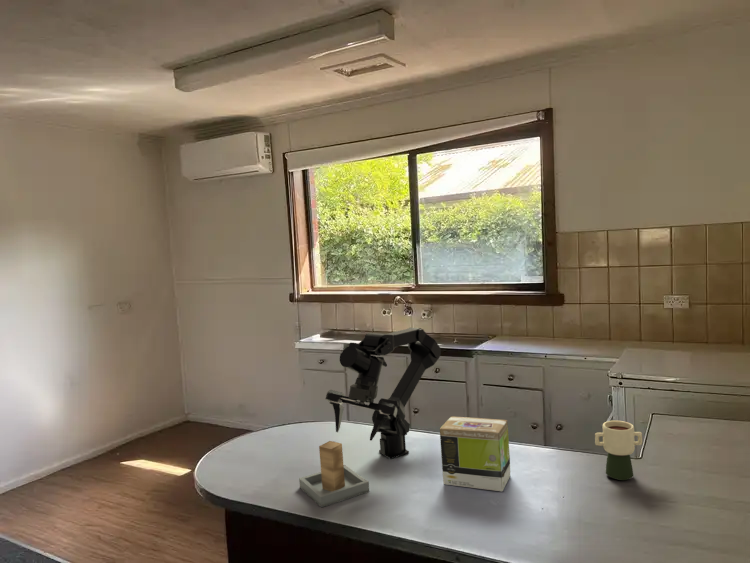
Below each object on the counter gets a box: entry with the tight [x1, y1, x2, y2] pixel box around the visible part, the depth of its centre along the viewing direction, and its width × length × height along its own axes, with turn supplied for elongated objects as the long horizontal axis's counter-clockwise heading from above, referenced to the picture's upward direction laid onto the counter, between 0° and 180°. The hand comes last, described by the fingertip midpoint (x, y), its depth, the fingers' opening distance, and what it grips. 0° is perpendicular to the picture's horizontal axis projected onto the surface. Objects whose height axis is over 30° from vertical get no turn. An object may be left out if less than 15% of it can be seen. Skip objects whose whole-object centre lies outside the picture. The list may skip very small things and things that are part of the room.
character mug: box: [594, 420, 643, 481], centre depth 141 cm, size 11×7×13 cm, turn 82°
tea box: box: [439, 415, 511, 492], centre depth 144 cm, size 15×10×15 cm, turn 65°
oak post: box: [318, 440, 345, 491], centre depth 144 cm, size 4×4×11 cm
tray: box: [299, 464, 370, 508], centre depth 145 cm, size 13×13×2 cm
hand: (353, 436), depth 151 cm, fingers open, 9 cm apart
